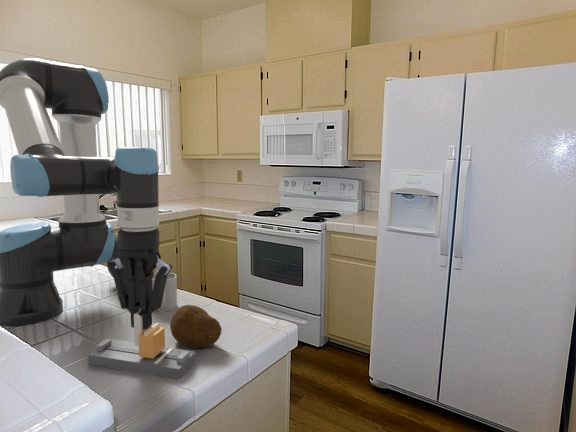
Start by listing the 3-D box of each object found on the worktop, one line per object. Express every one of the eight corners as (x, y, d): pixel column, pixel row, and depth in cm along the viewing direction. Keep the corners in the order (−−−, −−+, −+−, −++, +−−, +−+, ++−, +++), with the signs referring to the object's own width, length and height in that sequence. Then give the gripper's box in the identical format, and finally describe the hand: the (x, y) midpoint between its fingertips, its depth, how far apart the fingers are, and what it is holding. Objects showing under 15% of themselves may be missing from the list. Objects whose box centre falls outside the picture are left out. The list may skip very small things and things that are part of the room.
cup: (177, 301, 112) (176, 271, 111) (176, 314, 103) (176, 282, 101) (150, 303, 110) (150, 273, 109) (148, 317, 101) (147, 284, 99)
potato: (192, 360, 80) (191, 320, 78) (161, 341, 87) (160, 305, 86) (224, 346, 86) (224, 309, 85) (192, 330, 94) (192, 295, 93)
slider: (139, 356, 76) (138, 331, 75) (151, 346, 80) (151, 322, 79) (152, 358, 75) (152, 333, 74) (164, 348, 79) (164, 323, 79)
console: (88, 364, 77) (87, 350, 77) (111, 347, 84) (110, 334, 83) (179, 378, 73) (179, 364, 72) (195, 360, 80) (195, 347, 79)
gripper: (96, 228, 72) (101, 347, 75) (158, 233, 69) (161, 356, 73) (121, 223, 79) (125, 331, 83) (179, 227, 77) (180, 338, 80)
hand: (141, 342), depth 78 cm, fingers closed
